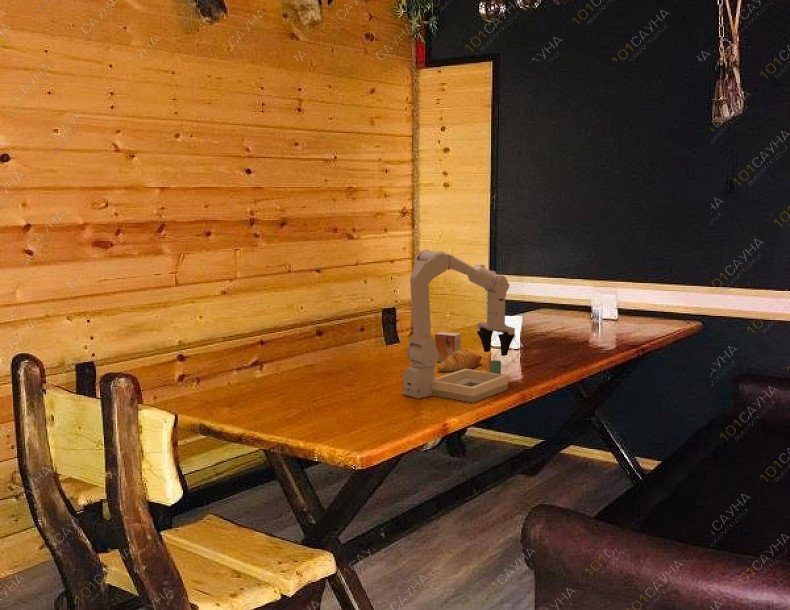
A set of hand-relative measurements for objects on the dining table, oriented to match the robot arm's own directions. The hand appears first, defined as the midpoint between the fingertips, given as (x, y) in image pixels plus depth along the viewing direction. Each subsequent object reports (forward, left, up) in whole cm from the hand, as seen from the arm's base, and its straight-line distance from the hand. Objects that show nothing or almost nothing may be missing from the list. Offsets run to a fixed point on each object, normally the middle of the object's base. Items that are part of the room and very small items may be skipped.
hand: (495, 353), depth 265 cm
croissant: (+6, +23, -10) cm, 26 cm away
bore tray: (-15, -3, -10) cm, 18 cm away
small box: (+10, +33, -10) cm, 36 cm away
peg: (0, 0, -10) cm, 10 cm away
